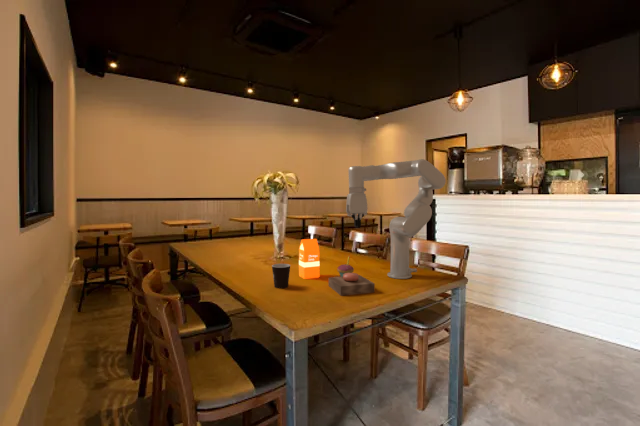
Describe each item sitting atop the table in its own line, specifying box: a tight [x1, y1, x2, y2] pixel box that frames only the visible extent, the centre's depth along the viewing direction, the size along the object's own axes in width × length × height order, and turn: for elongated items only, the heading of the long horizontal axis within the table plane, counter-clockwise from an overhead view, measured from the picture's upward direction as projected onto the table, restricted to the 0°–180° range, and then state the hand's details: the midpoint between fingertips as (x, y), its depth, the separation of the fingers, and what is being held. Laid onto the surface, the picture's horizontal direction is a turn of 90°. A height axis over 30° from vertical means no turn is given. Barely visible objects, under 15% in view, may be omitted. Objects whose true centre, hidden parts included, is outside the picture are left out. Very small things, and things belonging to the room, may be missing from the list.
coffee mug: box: [271, 263, 291, 289], centre depth 155 cm, size 12×9×10 cm
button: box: [343, 272, 359, 281], centre depth 149 cm, size 7×7×2 cm
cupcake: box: [336, 255, 355, 277], centre depth 169 cm, size 9×8×12 cm
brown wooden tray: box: [328, 274, 376, 296], centre depth 149 cm, size 16×16×4 cm
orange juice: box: [298, 238, 321, 280], centre depth 172 cm, size 8×9×20 cm
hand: (357, 227), depth 164 cm, fingers closed
